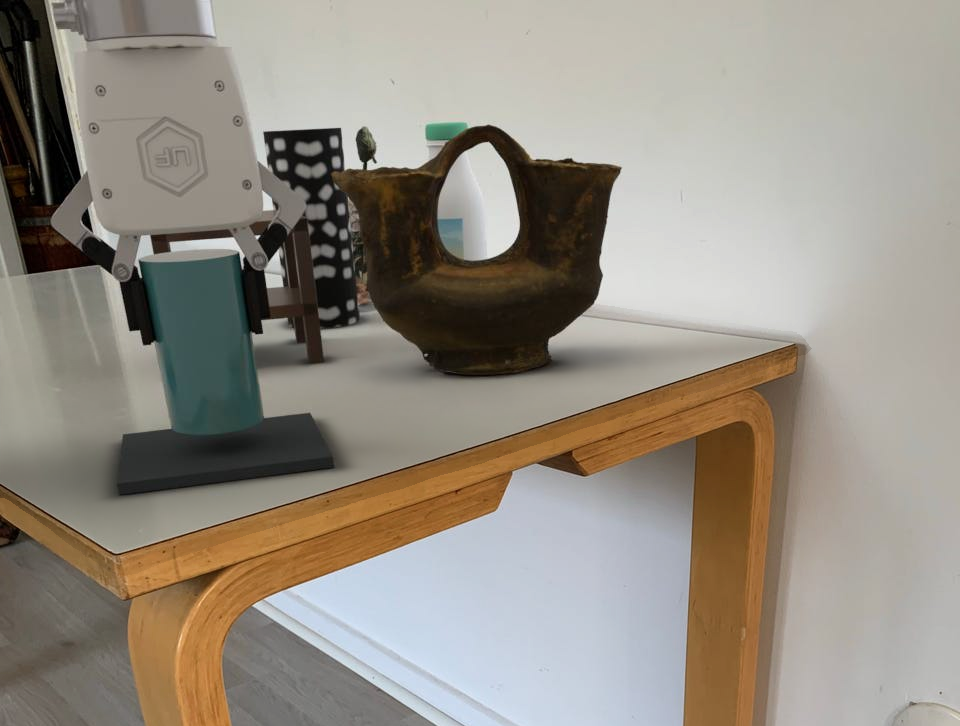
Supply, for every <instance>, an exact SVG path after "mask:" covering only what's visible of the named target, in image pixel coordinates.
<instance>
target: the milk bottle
mask: <svg viewBox="0 0 960 726" xmlns="http://www.w3.org/2000/svg"><path fill="white" fill-rule="evenodd" d="M424 127H425V128H424V133H425V140H426V147H427V148H428V149H427V150H428V160H427V162H428V161H430V160H431V159H433V158H435V157H436V156H437V155H438V153H439V152H440V151H441V150H442V148H443V147H444V146H445V143H446V142H448V141H449V140H451V139H452V138H454V137H455V136H457V135H458V134H459V133H461V132H462V131H464V130H465V129H468V128H469V127H468V123H467V122H465V121H452V122H434V123H427V124H425V126H424ZM483 197H484V196H483V193H482V190H481V188H480V185H479V183H478V180H477V178H476V176H475V174H474V172H473V170H472V166H471V163H470V159H469V156H468V150H467V151H465V152H463V153H462V154H461V155H460V156H459V157H458V158H457V160H456V161H455V163H454V164H453V166H452V167H451V169H450V171H449V173H448V175H447V178H446V181H445V183H444V185H443V188H442V190H441V193H440V196H439V201H438V228H439V234H440V237H441V240H442V242H443V244H444V246H445V248H446V249H447V250H448V251H449V252H450V253H451V254H452V255H454V256H456V257H458V258H460V259H464V260H472V261H476V260H484V259H488V241H487V239H488V238H487V224H486V223H487V221H486V220H487V219H486V210H485V203H484V201H485V200H484V198H483Z"/></svg>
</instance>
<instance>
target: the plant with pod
mask: <svg viewBox="0 0 960 726" xmlns="http://www.w3.org/2000/svg"><path fill="white" fill-rule="evenodd" d="M355 143H356V149H357V150H356V151H357V155H358V159H359V161H360V162H361V163H362V169H363V170H368V162H369V161H371V160H372V162H373V163H374V164H377V163H378V161H377V160H376V156H375V155H376V153H377V146H378V145H377V142H376V141H375V139H374V137H373V133H372V132H371V131H370V130H369V127H367V126H366V125H364V126H362V127H361V128H360V129H359V130H357V133H356V137H355ZM348 204H349V214H350V225H351V235H352V245H353V255H354V266H355V276H356V286H357V297H358V307H359V308H360V306H361V305H364V304H367V303H368V302H372V301H371V297H370V294H369V292H368V289H367V287H366V280H367V256H366V249H365V246H364V244H363V242H362V238H361V236H360V223H359V215H358V212H357V209H356V208H355V206H354V204H353V203H352V202H351V201H350V199H349V198H348Z"/></svg>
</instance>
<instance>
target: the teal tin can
mask: <svg viewBox="0 0 960 726" xmlns="http://www.w3.org/2000/svg"><path fill="white" fill-rule="evenodd" d="M241 259H242V258H241V253H240V251H239V250H236V249H229V248H201V249H188V250H178V251H176V250H175V251H171V252H167V253H160V254H150V255H145V256H143V257H140V258H138V259H137V260H138V266H139V270H140V277H141V278H142V281H143V286H144V291H145V296H146V301H147V306H148V311H149V317H150V322H151V327H152V332H153V337H154V347H155V352H156V357H157V362H158V367H159V373H160V378H161V383H162V388H163V392H164V393H163V394H164V397H165V403H166V408H167V414H168V418H169V423H170V429H172V430H173V431H175V432H178V433H181V434H187V435H216V434H224V433H231V432H236V431H240V430H244V429H247V428H250V427H253V426H255V425H257V424H259V423H260V422H262V421H263V419H264V418H265V413H264V407H263V399H262V393H261V386H260V381H259V373H258V367H257V362H256V360H257V359H256V353H255V346H254V341H253V333H252V331H251V326H250V320H249V313H248V306H247V300H246V293H245V286H244V280H243V273H242V269H243V265H242V260H241Z"/></svg>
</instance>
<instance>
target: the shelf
mask: <svg viewBox="0 0 960 726" xmlns="http://www.w3.org/2000/svg"><path fill="white" fill-rule="evenodd" d="M277 212H278V210H273V209H270V210H263V213H262V216H261V218H260V219H259V220H258V221H256V222H255V223H253V224H251V225H249V227H250V229H251V230H252V232H253V234H254V235H255V237H260V235H261V234H262V233H263V231H264V230H265V229H266V227H267V226H268V225H269V224H270V223H271V221H272V220H273V219H274V217H275V215H276V214H277ZM149 238H150V243H151V248H152V255H154V254H160V253H167V252H172V249H171V243H178V242H179V243H180V242H189V241H202V240H204V241H205V240H217V239H230V238H234V237H233V235H232V234H231V232H230V230H229V229H225V230H213V231H200V232H186V233H173V234H159V235H149ZM283 245H284V253H285V261H286V268H287V276H288V284H289V286H287V287H283V286H279V287H278V286H276V287H267V293H268V300H269V307H270V315H271V318H266V319H261V321H269V320H270V321H272V320H281V319H288V318H292V317H293V323H294V327H293V330H294V337H295V341H296V343H297V344H303V343H305V345H306V355H307V361H308V362H309V364H314V363H315V364H317V363H324V362H325V358H324V348H323V340H322V332H321V331H322V330H321V329H320V322H319V313H318V305H317V296H316V288H315V279H314V271H313V262H312V254H311V245H310V236H309V228H308V219H307V217H305V216H303V215H302V216H301V218H300V219H299V221H298V222H297V223H296V225H295V226H294V228H293V229H292V230H291V232H290V233H289V234H288V236H287V238H286V240H285V241H284V243H283Z"/></svg>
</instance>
